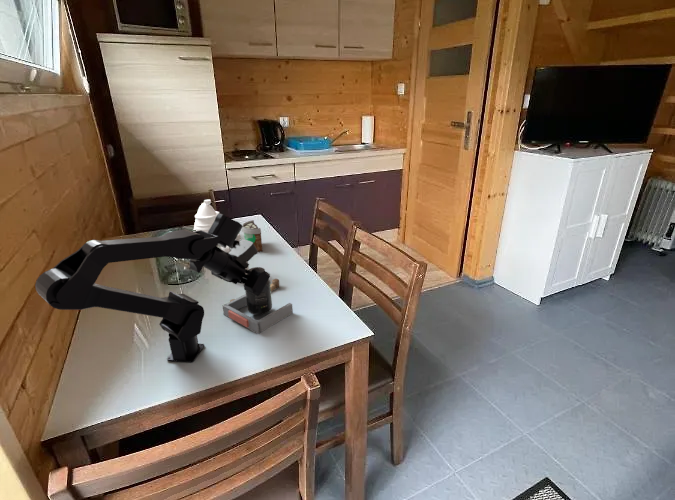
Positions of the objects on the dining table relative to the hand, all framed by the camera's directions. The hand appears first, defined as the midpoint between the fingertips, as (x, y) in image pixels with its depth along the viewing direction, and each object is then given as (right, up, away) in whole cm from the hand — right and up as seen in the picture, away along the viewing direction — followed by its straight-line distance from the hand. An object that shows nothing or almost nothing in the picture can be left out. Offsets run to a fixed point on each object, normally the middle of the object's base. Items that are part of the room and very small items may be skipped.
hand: (259, 285), depth 104 cm
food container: (-13, +10, +48) cm, 51 cm away
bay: (-1, -8, +2) cm, 8 cm away
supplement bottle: (0, -7, +2) cm, 7 cm away
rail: (-3, -5, +11) cm, 12 cm away
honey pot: (-33, +14, +58) cm, 68 cm away
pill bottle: (-13, +1, +25) cm, 28 cm away
